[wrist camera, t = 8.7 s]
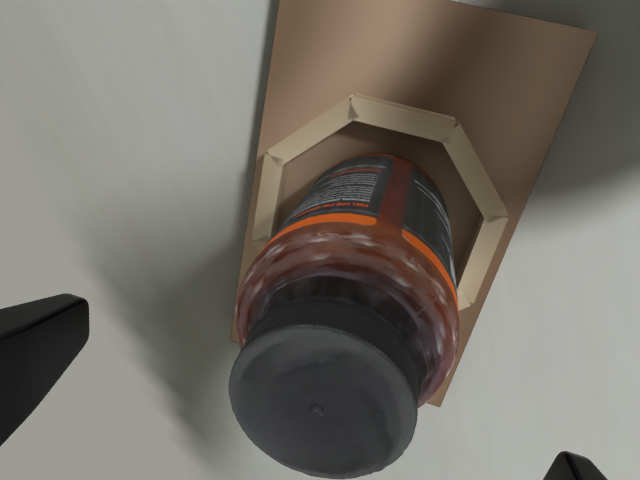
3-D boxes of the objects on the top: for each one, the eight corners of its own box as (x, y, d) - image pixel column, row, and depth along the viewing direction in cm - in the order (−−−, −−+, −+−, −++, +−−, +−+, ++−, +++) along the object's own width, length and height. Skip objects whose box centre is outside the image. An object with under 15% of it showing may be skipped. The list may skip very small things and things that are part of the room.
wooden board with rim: (588, 32, 16) (610, 30, 14) (439, 393, 23) (440, 425, 21) (292, -30, 18) (274, -40, 16) (237, 329, 25) (220, 353, 23)
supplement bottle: (280, 211, 20) (128, 376, 10) (382, 117, 18) (315, 212, 8) (371, 306, 21) (313, 547, 11) (480, 229, 19) (537, 448, 8)
